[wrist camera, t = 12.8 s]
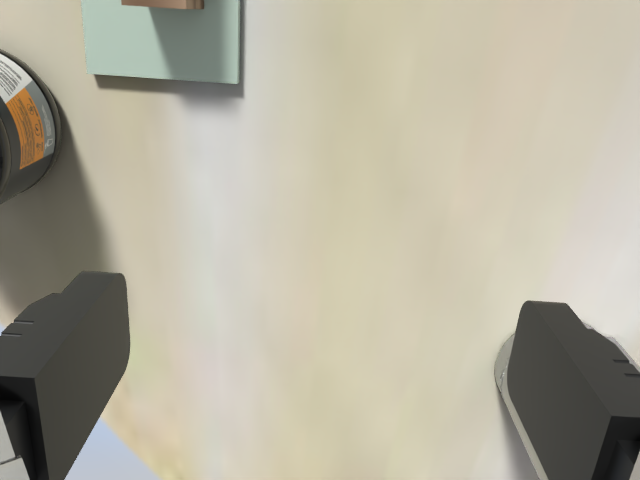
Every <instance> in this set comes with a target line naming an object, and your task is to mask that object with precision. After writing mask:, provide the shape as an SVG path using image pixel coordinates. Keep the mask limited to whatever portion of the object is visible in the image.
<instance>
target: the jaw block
mask: <svg viewBox="0 0 640 480" xmlns="http://www.w3.org/2000/svg"><path fill="white" fill-rule="evenodd" d="M121 5H127V6H143V7H159V8H175V9H204V0H121Z"/></svg>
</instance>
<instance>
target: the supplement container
mask: <svg viewBox="0 0 640 480" xmlns="http://www.w3.org/2000/svg"><path fill="white" fill-rule="evenodd" d="M61 135H62V131H61V122H60V116H59V112H58V109H57V106H56V104H55V101H54V99H53V97H52V95H51V93H50V92H49V90H48V88H47V87H46V85H45V84H44V83H43V81H42V80H41V79H40V78H39V76H38V75H37V74H36V73H35V72H34V71H33V70H32V69H31V68H30V67H29V66H27V65H26V64H25V63H24V62H22V61H21V60H20V59H18V58H17V57H15V56H13V55H12V54H10V53H8V52H6V51H4V50H1V49H0V204H1V203H3V202H5V201H6V200H8V199H10V198H11V197H13V196H15V195H17V194H18V193H20V192H23V191H25V190H27V189H29V188H31V187H32V186H34V185H36V184H37V183H38V182H39V181H41V180H42V179H43V178H44V177H45V176H46V175H47V174H48V172H49V171H50V170H51V168H52V167H53V165H54V163H55V161H56V159H57V156H58V153H59V150H60V145H61Z"/></svg>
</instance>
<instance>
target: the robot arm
mask: <svg viewBox="0 0 640 480" xmlns="http://www.w3.org/2000/svg"><path fill="white" fill-rule="evenodd" d="M129 353H130V332H129V317H128V302H127V288H126V281H125V278H124V276H123V274H121V273H108V272H93V271H82V272H81V273H80V274H79V275H78V276H77V277H76V278H75V279H74V280H73V281H72V282H71V283H70V284H69V285H68V286H67V287H66V288H65V290H64V291H63V292H62V293H61V294H57V293H52V294H50V295H48V296H46V297H44V298H42V299H41V300H39V301H37V302H35V303H33V304H31V305H29V306H28V307H27V308H26V309H25V310H24V311H23V312H22V313H21V314H20V315H19V316H18V317H17V318H16V319H15V320H14V323H11V324H10V325H9V326H8V327H7V328H6V329H5V330H4V331H3V332H2V334H1V336H0V480H64V479H65V477H66V475H67V474H68V472H69V470H70V469H71V467H72V465H73V463H74V461H75V460H76V458H77V456H78V454H79V452H80V451H81V449H82V447H83V445H84V444H85V442H86V440H87V438H88V436H89V435H90V433H91V431H92V429H93V428H94V426H95V424H96V422H97V421H98V419H99V417H100V415H101V413H102V412H103V410H104V408H105V406H106V404H107V403H108V401H109V399H110V397H111V396H112V394H113V392H114V390H115V388H116V387H117V385H118V383H119V381H120V380H121V378H122V376H123V374H124V372H125V370H126V367H127V364H128V359H129ZM495 378H496V383H497V385H498V387H499V390H500V392H501V395H502V398H503V400H504V401H505V403H506V406H507V408H508V410H509V412H510V415H511V417H512V419H513V422H514V424H515V426H516V428H517V431H518V433H519V435H520V437H521V439H522V442H523V444H524V446H525V448H526V451H527V453H528V455H529V457H530V459H531V462H532V464H533V466H534V468H535V470H536V473H537V475H538V477H539V479H540V480H640V367H639V366H638V365H637V364H636V362H635V361H634V360H633V359H632V358H631V357H630V356H629V354H628V353H627V352H626V351H625V350H624V349H623V348H622V346H621V345H620V344H619V343H618V342H617V341H616V340H615V338H613V337H605V336H602V335H601V334H599V333H598V332H596V331H595V330H594V329H593V328H592V327H591V326H589V325H587V324H585V323H583V322H582V321H581V320H580V319H579V318H578V317H577V315H576V314H575V313H574V312H573V310H572V309H571V308H570V307H569V306H568V305H567V304H566V303H558V302H542V301H526V302H525V303H524V304H523V306H522V308H521V311H520V314H519V319H518V323H517V328H516V332H515V334H513V335H512V336H511V337H510V338H509V339H508V340H507V341H506V343H505V344H504V345H503V347H502V349H501V350H500V352H499V354H498V357H497V360H496V363H495Z"/></svg>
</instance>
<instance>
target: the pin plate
mask: <svg viewBox="0 0 640 480" xmlns="http://www.w3.org/2000/svg"><path fill="white" fill-rule="evenodd" d="M81 6H82V18H83V30H84V42H85V54H86V66H87V74H99V75H114V76H128V77H143V78H157V79H172V80H186V81H201V82H215V83H229V84H238V83H239V71H240V0H204V9H175V8H159V7H143V6H127V5H121V0H81Z"/></svg>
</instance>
